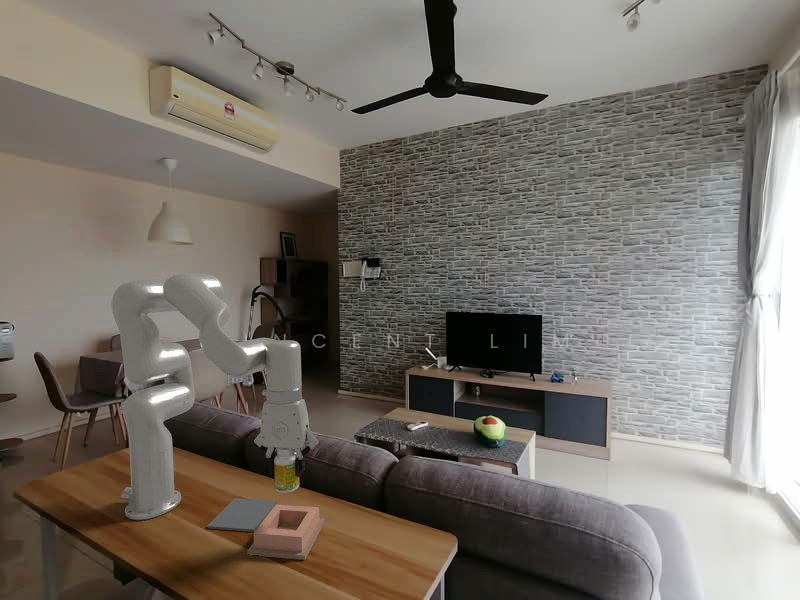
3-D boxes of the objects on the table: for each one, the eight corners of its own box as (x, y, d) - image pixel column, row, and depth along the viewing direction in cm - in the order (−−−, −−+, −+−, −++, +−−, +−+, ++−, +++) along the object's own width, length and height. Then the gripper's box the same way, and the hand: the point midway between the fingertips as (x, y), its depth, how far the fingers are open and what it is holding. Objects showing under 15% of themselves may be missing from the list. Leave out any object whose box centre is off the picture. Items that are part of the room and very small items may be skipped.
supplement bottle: (286, 496, 86) (285, 453, 85) (269, 489, 88) (268, 447, 88) (304, 485, 90) (303, 444, 90) (288, 479, 93) (287, 439, 93)
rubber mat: (207, 528, 94) (207, 525, 94) (234, 500, 106) (234, 498, 106) (254, 532, 92) (254, 529, 92) (276, 503, 104) (276, 501, 104)
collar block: (247, 555, 84) (246, 535, 84) (274, 518, 97) (274, 501, 97) (304, 560, 83) (304, 540, 83) (324, 522, 96) (324, 505, 95)
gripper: (240, 399, 86) (243, 479, 87) (315, 401, 84) (317, 483, 84) (257, 389, 93) (259, 463, 94) (326, 391, 91) (328, 467, 92)
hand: (287, 472), depth 89 cm, fingers closed on supplement bottle, 5 cm apart
